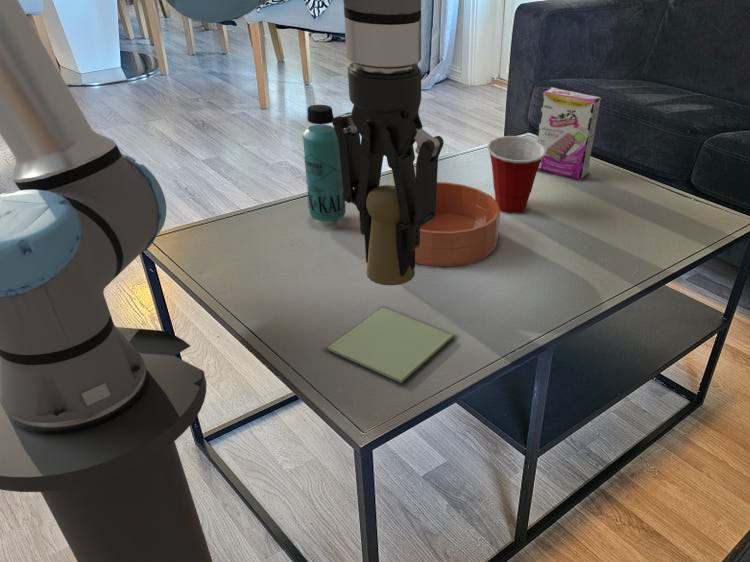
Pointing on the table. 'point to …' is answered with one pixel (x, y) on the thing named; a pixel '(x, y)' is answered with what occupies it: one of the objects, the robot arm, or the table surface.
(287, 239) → the table surface
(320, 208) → the beverage bottle
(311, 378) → the table surface
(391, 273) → the brown peg doll
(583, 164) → the candy bar box
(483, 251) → the bowl
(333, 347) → the coaster
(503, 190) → the plastic cup
